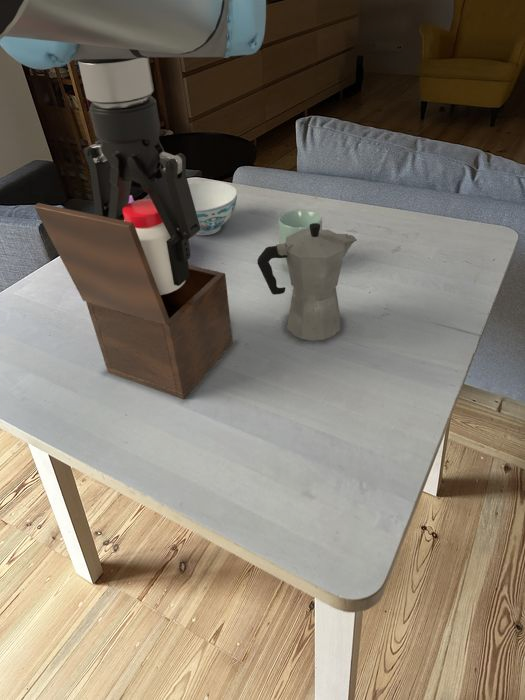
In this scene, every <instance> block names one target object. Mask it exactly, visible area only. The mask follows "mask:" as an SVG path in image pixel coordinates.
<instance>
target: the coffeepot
mask: <svg viewBox="0 0 525 700" xmlns="http://www.w3.org/2000/svg"><path fill="white" fill-rule="evenodd" d="M355 242H357V238H356V237H355V236H354V235H352V234H348V233H336V232H334V231H332V230H330V229H322V230H320V224H318V223H312V224H310V229H304V230H302V231H299V232H297V233H295V234H292V235H290V236H287V237H286V242H285V243H283V244H279V243H278V244H275V245H271V246H266V247H265V249H264V250H263V251H262V252H261V254H260V255H259V256H258V258H257V266H258V268H259V270H260V271H261V274H262V276H263V278H264V280H265V282H266V284H267V286H268V289H269V291H270V293H271V294H272V295H281V294H282V295H283V294H284V293H285V292H286V287H285V286H283V287H278V286H277V285H278V284H277V278H276V277H275V275H274V273H273V268H272V265H271V264H270V261H271V260H272V259H282V258H286V259H287V265H288V268H287V270H288V275H289V280H290V285H291V286H292V293H291V298H290V306H289V311H288V319H287V326H286V330H287V331H288V332H289V333H291V334H292V335H293V336H294V337H296V338H297V339H299V340H300V339H301V340H304V341H310V342H319V341H324V340H328V339H330V338H332V337H334V336H335V335H336V334H337V333H339V332H340V331H341V313H340V306H339V300H338V293H337V287H338V282H339V280H340V274H341V268H342V264H343V260H344V257H345V256H346V254H347V253H348V251H349V249H350V248H351V247H352V245H353V244H354V243H355Z"/></svg>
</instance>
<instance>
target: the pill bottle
mask: <svg viewBox="0 0 525 700" xmlns="http://www.w3.org/2000/svg"><path fill="white" fill-rule="evenodd" d="M123 215H124V219H125V220H124V221H127V222H132V223H134V226H135V229H136V231H137V234H138V237H139V239H140V242H141V245H142V247H143V250H144V253H145V255H146V258H147V261H148V263H149V266H150V269H151V271H152V274H153V277H154V279H155V282H156V285H157V287H158V290H159V293H160V295H164V294H168V293H171V292H173V291H175V290H177V289H179V288H180V287H181V286H182V285H183V284H184V283H185V281H186V280H185V281H184V282H183V283H182V284H180V285H179V286H177V285H174V281H173V275H172V270H171V264H170V259H169V253H168V248H167V242H166V241H167V240H169V239H170V238H171V237H170V235H169V233H168V231H167V229H166V227H165V225H164V223H163V221H162V219H161V217H160V215H159V213H158V212H157V210H156V208H155V206H154V204H153V202H152V200H151V198H142V199H137V200H134V201H133V202H131V203H129V204H127V205H126V206H125V207H124V208H123ZM177 229H178V228H177Z"/></svg>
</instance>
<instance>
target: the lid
mask: <svg viewBox="0 0 525 700" xmlns="http://www.w3.org/2000/svg"><path fill="white" fill-rule="evenodd" d="M33 208H34V210H35V212H36V214H37V216H38V217H39V220H40V222H41V223H42V225H43V227H44V229H45V231H46V233H47V235H48V237H49V238H50V240H51V242H52V244H53V247H54V248H55V250H56V252H57V254H58V255H59V257H60V259H61V261H62V263H63V265H64V267H65V269H66V271H67V273H68V274H69V276H70V278H71V280H72V282H73V284H74V286H75V288H76V290H77V292H78V294H79V295H80V297H81V299H82V301H83V302H85V303H86V302H89V303H93V304H96V305H99V306H103V307H106V308H110V309H113V310H117V311H120V312H123V313H127V314H130V315H134V316H137V317H140V318H144V319H147V320H151V321H154V322H157V323H161V324H164V325H167V324H168V323H169V322H170V320H169V317H168V314H167V312H166V309H165V306H164V304H163V301H162V298H161V295H160V293H159V290H158V287H157V285H156V282H155V279H154V277H153V274H152V271H151V269H150V266H149V263H148V261H147V258H146V255H145V253H144V250H143V247H142V245H141V242H140V239H139V237H138V234H137V231H136V229H135V226H134V223H132V222H127V221H122V220H118V219H113V218H108V217H103V216H98V215H96V214H93V213H89V212H85V211H84V212H83V211H79V210H74V209H70V208H65V207H60V206H54V205H51V204H46V203H41V202H37V203H36V204H35V205H34V206H33Z"/></svg>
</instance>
